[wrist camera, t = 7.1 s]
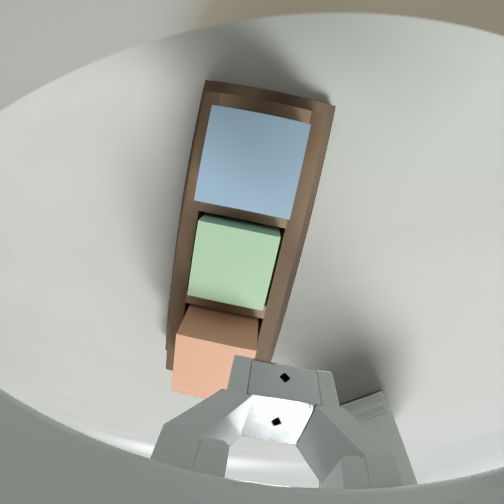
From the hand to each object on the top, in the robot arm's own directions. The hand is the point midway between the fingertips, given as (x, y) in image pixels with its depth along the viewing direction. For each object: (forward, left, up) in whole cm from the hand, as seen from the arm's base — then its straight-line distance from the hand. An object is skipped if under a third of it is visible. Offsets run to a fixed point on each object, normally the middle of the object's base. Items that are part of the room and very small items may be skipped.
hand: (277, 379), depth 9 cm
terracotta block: (+2, +8, -13) cm, 16 cm away
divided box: (+2, +1, -18) cm, 18 cm away
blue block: (+2, -6, -13) cm, 15 cm away
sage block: (+2, +1, -16) cm, 16 cm away
